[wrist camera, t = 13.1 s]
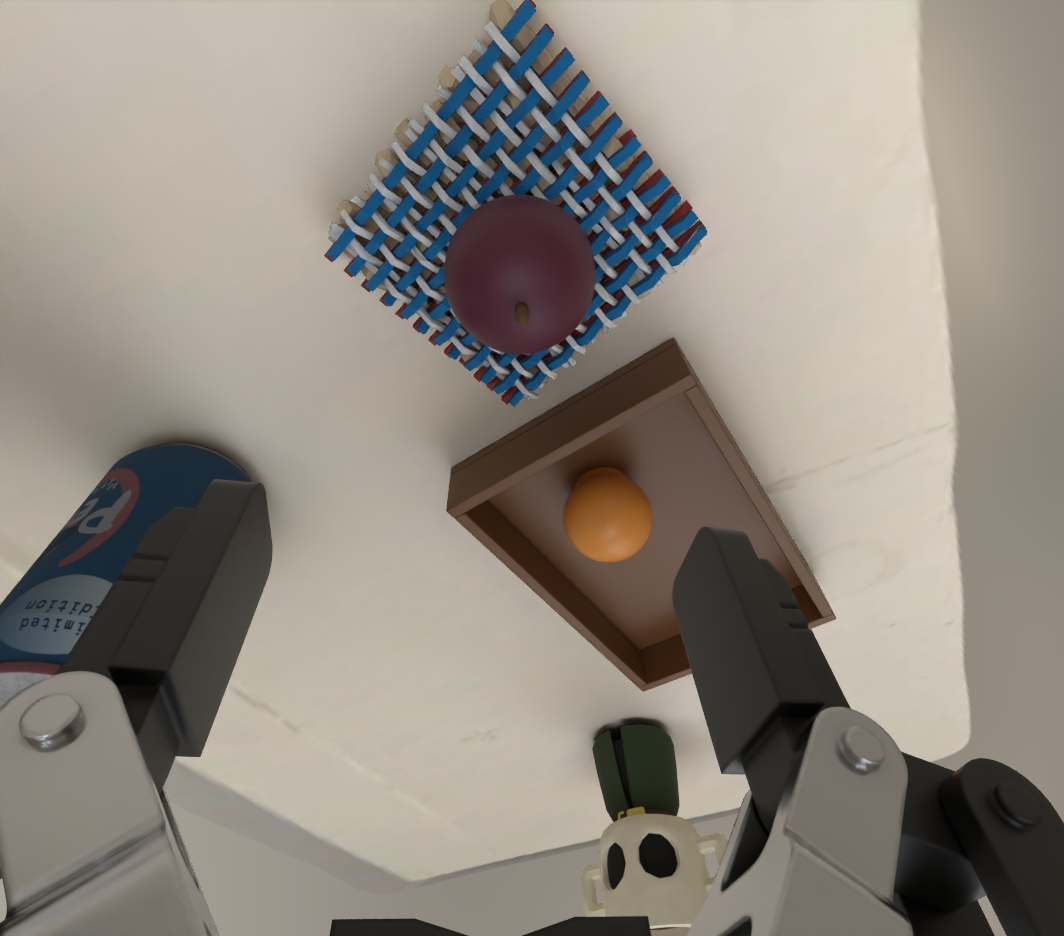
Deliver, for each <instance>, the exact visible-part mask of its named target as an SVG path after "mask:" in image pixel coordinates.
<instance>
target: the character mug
mask: <svg viewBox="0 0 1064 936" xmlns="http://www.w3.org/2000/svg"><path fill="white" fill-rule="evenodd" d="M620 729H621V736H622V739H620V740H618V741H616V742H614V743H612V739H611V734H610V731H607V732H605V733H603V734H602V735H601V736H599V737H598V738H597V739H596V740H595V743H594V745H593V748H592V749H593V754H594V759H595V764H596V769H597V774H598V778H599V782H600V786H601V790H602V794H603V798H604V801H605V805H606V809H607V812H608V813H609V815H610V817H611V819H612V820H613V822H614V823H612V824H610V825H609V826H608V827H607V828H606V829H605V830H604V831H603V834H602V836H601V839H600V844H599V849H598V857H599V863H598V864H593V865H590V866H587V867H586V868H584V869H583V870H582V876H581V878H582V892H583V903H584V912H585V915H586V917H606V916H648V919H649V925H650V931H651V936H686V935H687V933H688V931H689V929H690V927H691V925H692V923H693V921H694V920H695V918H696V916H697V915H698V913H699V912H700V910H701V908H702V907H703V905H704V903H705V901H706V899H707V897H708V895H709V893H710V890H711V888H712V885H713V882H714V879H715V877H714V878H710V877H709V873H708V869H707V865H706V860H705V856H704V854H705V853H710V852H716V854H717V859H718V863H719V865H720V863H721V860H722V857H723V854H724V852H725V849H726V846H727V843H728V841H727V839H726V837H725V835H724V834H717V833H716V834H713V835H708V836H704V837H701V838H700V837H699V835H698V833H697V831H696V829H695V827H694V826H693V825H692V823H691V822H690V821H687V820H685V819H683V818H681V817H678V816H677V813H678V809H679V793H678V781H677V768H676V760H675V752H674V745H673V742H672V740H671V737H670V736H669V735H668V734H666V733H665V732H664V731H663V730H661V729H660V728H659V727H654V726H649V725H643V724H638V725H625V726H622V727H620ZM599 879H601V884H602V893H603V902H604V903H600V904H597V898H596V888H595V880H599Z"/></svg>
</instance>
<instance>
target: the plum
mask: <svg viewBox="0 0 1064 936" xmlns="http://www.w3.org/2000/svg"><path fill="white" fill-rule="evenodd" d="M595 282H596V269H595V260H594V256H593V251H592V248H591V246H590V243H589V241H588V239H587V237H586V235H585V233H584V231H583V230H582V228H581V227H580V226H579V224H578V223H577V222H576V220H575V219H574V218H573V217H572V216H571V215H570V214H569V213H567V212H566V211H565V210H564V209H562V208H561V207H559V206H557V205H556V204H554V203H552V202H550V201H548V200H545V199H543V198H539V197H536V196H531V195H508V196H503V197H499V198H496V199H493V200H491V201H489V202H487V203H485V204H483V205H481V206H480V207H478V208H477V209H475V210H474V211H473V212H472V213H471V214H470V215H468V216H467V217H466V218H465V219H464V221H463V222H462V223H461V224H460V225H459V227H458V229H457V230H456V232H455V233H454V235H453V237H452V240H451V242H450V244H449V247H448V250H447V253H446V258H445V264H444V284H445V290H446V294H447V298H448V301H449V304H450V306H451V309H452V311H453V313H454V315H455V316H456V318H457V320H458V321H459V322H460V324H461V325H462V326H463V328H464V329H465V330H466V331H467V332H468V333H469V334H470V335H471V336H472V337H474V338H475V339H476V340H478V341H479V342H481V343H482V344H484V345H486V346H488V347H490V348H492V349H495V350H498V351H501V352H505V353H510V354H530V353H536V352H540V351H543V350H546V349H548V348H551V347H553V346H555V345H556V344H558V343H560V342H561V341H563V340H564V339H566V338H567V337H568V336H569V335H570V334H571V333H572V332H573V331H574V330H575V329H576V328H577V327H578V326H579V324H580V323H581V321H582V320H583V318H584V317H585V315H586V313H587V311H588V309H589V307H590V304H591V301H592V298H593V294H594V289H595Z"/></svg>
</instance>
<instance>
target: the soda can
mask: <svg viewBox="0 0 1064 936" xmlns="http://www.w3.org/2000/svg"><path fill="white" fill-rule="evenodd" d="M215 479H220V480H231V481H241V482H252V481H251V480H250V478H249V477H248V475H247V474H246V473H245V472H244V471H243V469H242V468H240V467H239V466H238V465H237V464H236V463H235V462H233V461H232V460H230V459H229V458H227V457H226V456H224V455H222V454H220V453H218V452H216V451H214V450H211V449H208V448H205V447H202V446H198V445H193V444H185V443H173V444H165V445H160V446H155V447H150V448H146V449H142V450H139V451H136V452H133V453H131V454H129V455H127V456H125V457H123V458H122V459H120V460H119V461H118V462H116V463H115V464H114V465H113V467H112V468H111V469H110V470H109V472H108V473H107V474H106V475H105V477H104V478H103V479H102V480H101V481H100V483H99V484H98V485H97V486H96V488H95V489H94V490H93V491H92V493H91V494H90V495H89V496H88V497H87V499H86V500H85V501H84V502H83V504H82V505H81V506H80V507H79V509H78V510H77V511H76V512H75V513H74V515H73V516H72V517H71V518H70V520H69V521H68V522H67V523H66V525H65V526H64V527H63V528H62V529H61V531H60V532H59V533H58V534H57V536H56V537H55V538H54V539H53V541H52V542H51V543H50V544H49V545H48V547H47V548H46V549H45V550H44V552H43V553H42V554H41V555H40V557H39V558H38V559H37V560H36V561H35V563H34V564H33V565H32V566H31V568H30V569H29V570H28V571H27V573H26V574H25V575H24V576H23V577H22V579H21V580H20V581H19V582H18V584H17V585H16V586H15V587H14V589H13V590H12V591H11V592H10V593H9V595H8V596H7V597H6V598H5V600H4V601H3V602H2V603H1V605H0V707H1V706H2V705H3V704H4V703H6V702H7V701H8V700H9V699H10V698H11V697H13V696H14V695H15V694H17V693H18V692H19V691H21V690H23V689H24V688H26V687H28V686H29V685H31V684H33V683H35V682H38V681H40V680H42V679H45V678H47V677H50V676H53V675H54V674H55V673H56V672H57V670H58V669H59V668H60V666H61V665H62V664H63V662H64V661H65V659H66V658H67V656H68V655H69V653H70V651H71V650H72V648H73V647H74V645H75V644H76V642H77V640H78V639H79V637H80V636H81V634H82V632H83V631H84V629H85V628H86V626H87V625H88V623H89V621H90V620H91V618H92V617H93V615H94V613H95V612H96V610H97V609H98V607H99V606H100V604H101V602H102V601H103V599H104V598H105V596H106V594H107V593H108V591H109V590H110V588H111V587H112V585H113V583H114V582H115V580H118V579H119V574H120V572H121V571H122V569H123V568H124V566H125V564H126V563H127V561H128V560H129V558H132V556H133V552H134V550H135V548H136V547H137V545H138V544H139V542H140V541H141V539H142V537H143V536H144V534H145V533H146V531H147V529H148V528H149V527H150V526H151V525H153V524H154V523H155V522H157V521H158V520H159V519H160V518H162V517H163V516H164V515H166V514H167V513H168V512H170V511H171V510H172V509H174V508H175V507H176V506H177V507H189V508H196V507H197V505H198V503H199V502H200V500H201V498H202V496H203V494H204V493H205V491H206V489H207V487H208V486H209V484H210V483H211V482H212V481H213V480H215Z"/></svg>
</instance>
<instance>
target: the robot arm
mask: <svg viewBox="0 0 1064 936" xmlns="http://www.w3.org/2000/svg"><path fill="white" fill-rule="evenodd" d="M271 561H272V538H271V530H270V523H269V515H268V508H267V500H266V493H265V489H264V486H263V485H262V484H261V483H252V482H241V481H231V480H220V479H215V480H213V481H212V482H211V483H210V484H209V486H208V487H207V489H206V491H205V493H204V494H203V496H202V498H201V500H200V502H199V503H198V505H197V507H196V508H189V507H177V506H176V507H175V508H174V509H172V510H171V511H170V512H168V513H167V514H166V515H164V516H163V517H162V518H160V519H159V520H158V521H157V522H155V523H154V524H153V525H151V526H150V527H149V528H148V529H147V531H146V533H145V534H144V536H143V537H142V539H141V541H140V542H139V544H138V545H137V547H136V548H135V550H134V552H133V556H132V558H129V560H128V561H127V563H126V564H125V566H124V568H123V569H122V571H121V572H120V574H119V579H118V580H115V582H114V583H113V585H112V587H111V588H110V590H109V591H108V593H107V594H106V596H105V598H104V599H103V601H102V602H101V604H100V606H99V607H98V609H97V610H96V612H95V613H94V615H93V617H92V618H91V620H90V621H89V623H88V625H87V626H86V628H85V629H84V631H83V632H82V634H81V636H80V637H79V639H78V640H77V642H76V644H75V645H74V647H73V648H72V650H71V651H70V653H69V655H68V656H67V658H66V659H65V661H64V662H63V664H62V665H61V666H60V668H59V669H58V670H57V672H56V673H55V674H54V675H53V676H50V677H47V678H45V679H42V680H40V681H38V682H35V683H33V684H31V685H29V686H28V687H26V688H24V689H23V690H21V691H19V692H18V693H17V694H15V695H14V696H13V697H11V698H10V699H9V700H8V701H7V702H6V703H4V704H3V705H2V706H1V707H0V879H1V878H2V879H3V884H4V889H5V895H6V902H7V915H6V918H5V920H4V921H2V922H1V923H0V936H220V935H219V932H218V930H217V927H216V925H215V922H214V920H213V918H212V915H211V913H210V910H209V908H208V905H207V903H206V900H205V898H204V895H203V892H202V890H201V887H200V884H199V881H198V879H197V876H196V873H195V871H194V868H193V865H192V862H191V860H190V857H189V854H188V852H187V849H186V846H185V843H184V841H183V838H182V835H181V833H180V830H179V827H178V824H177V822H176V819H175V816H174V814H173V811H172V808H171V806H170V803H169V800H168V797H167V795H166V792H165V789H164V787H163V786H164V784H165V781H166V779H167V777H168V774H169V772H170V769H171V767H172V764H173V762H174V759H175V757H176V756H185V757H200V756H201V754H202V751H203V749H204V746H205V743H206V741H207V738H208V735H209V733H210V730H211V727H212V725H213V722H214V719H215V717H216V714H217V711H218V709H219V706H220V703H221V701H222V698H223V695H224V693H225V690H226V688H227V685H228V682H229V680H230V677H231V674H232V672H233V669H234V666H235V664H236V661H237V658H238V656H239V653H240V650H241V648H242V645H243V642H244V640H245V637H246V634H247V632H248V629H249V627H250V624H251V621H252V619H253V616H254V613H255V611H256V608H257V605H258V603H259V600H260V597H261V595H262V592H263V589H264V587H265V584H266V581H267V579H268V575H269V572H270V567H271ZM672 603H673V609H674V613H675V616H676V620H677V623H678V626H679V630H680V633H681V637H682V640H683V643H684V647H685V650H686V654H687V657H688V661H689V664H690V667H691V671H692V674H693V678H694V681H695V685H696V688H697V691H698V695H699V698H700V702H701V705H702V709H703V712H704V715H705V719H706V722H707V726H708V729H709V733H710V736H711V739H712V743H713V746H714V750H715V753H716V757H717V760H718V763H719V767H720V770H721V774H746V777H747V780H748V784H749V787H750V790H749V791H748V792H747V793H746V795H745V797H744V799H743V802H742V804H741V807H740V810H739V813H738V816H737V818H736V821H735V824H734V827H733V830H732V832H731V835H730V838H729V841H728V843H727V846H726V849H725V852H724V854H723V857H722V860H721V863H720V865H719V868H718V871H717V874H716V877H715V879H714V882H713V885H712V888H711V890H710V893H709V895H708V897H707V899H706V901H705V903H704V905H703V907H702V908H701V910H700V912H699V913H698V915H697V916H696V918H695V920H694V921H693V923H692V925H691V927H690V929H689V931H688V933H687V935H686V936H994V934H993V932H992V929H991V927H990V926H989V923H988V921H987V919H986V917H985V915H984V913H983V911H982V909H981V907H980V905H979V903H978V901H977V900H978V899H980V898H982V897H984V896H986V895H987V897H988V899H989V901H990V903H991V905H992V907H993V909H994V911H995V913H996V915H997V917H998V919H999V921H1000V923H1001V925H1002V927H1003V929H1004V931H1005V933H1006V935H1007V936H1064V823H1063V822H1062V820H1061V818H1060V817H1059V815H1058V814H1057V812H1056V810H1055V809H1054V808H1053V806H1052V805H1051V803H1050V802H1049V801H1048V799H1047V798H1046V797H1045V796H1044V795H1043V794H1042V792H1041V791H1040V790H1039V789H1038V788H1037V787H1036V786H1035V785H1033V784H1032V783H1031V782H1030V781H1029V780H1028V779H1026V778H1025V777H1024V776H1023V775H1021V774H1020V773H1018V772H1017V771H1015V770H1013V769H1012V768H1010V767H1009V766H1006V765H1004V764H1002V763H1000V762H997V761H994V760H990V759H983V758H978V759H974V760H971V761H969V762H968V763H966V764H965V765H964V766H963V767H961V768H960V769H958V770H957V771H956V772H955V771H952V770H950V769H947V768H944V767H941V766H939V765H936V764H933V763H930V762H928V761H925V760H922V759H919V758H917V757H914V756H911V755H908V754H906V753H903V752H901V751H900V749H899V748H898V746H897V745H896V743H895V741H894V740H893V739H892V738H891V737H890V735H889V734H888V733H887V732H886V731H885V730H884V729H883V728H882V727H881V726H880V725H878V724H877V723H876V722H875V721H873V720H872V719H870V718H869V717H867V716H866V715H864V714H862V713H860V712H858V711H855V710H853V709H851V708H850V706H849V704H848V702H847V701H846V699H845V697H844V695H843V692H842V690H841V688H840V686H839V684H838V682H837V680H836V678H835V676H834V674H833V672H832V670H831V668H830V666H829V664H828V662H827V660H826V658H825V656H824V654H823V652H822V650H821V648H820V646H819V644H818V642H817V640H816V638H815V636H814V634H813V632H812V630H809V629H808V625H809V624H808V622H807V620H806V618H805V616H804V614H803V612H802V610H799V608H798V607H799V604H798V602H797V600H796V598H795V596H794V594H793V592H792V590H791V588H790V586H789V584H788V582H787V580H786V579H785V578H784V577H783V576H782V575H781V574H780V573H779V572H778V571H777V570H776V568H775V567H774V566H773V565H772V564H771V563H770V562H769V561H768V560H767V559H759V558H758V557H757V555H756V553H755V551H754V548H753V546H752V544H751V542H750V540H749V538H748V536H747V534H746V533H745V532H744V531H742V530H736V529H725V528H715V527H702V528H701V529H700V530H699V531H698V532H697V534H696V536H695V538H694V540H693V542H692V544H691V546H690V548H689V550H688V552H687V554H686V556H685V559H684V561H683V563H682V565H681V567H680V569H679V571H678V573H677V575H676V577H675V580H674V583H673V589H672ZM330 936H467V935H464V934H461V933H458V932H455V931H452V930H449V929H446V928H442V927H439V926H436V925H433V924H430V923H426V922H424V921H420V920H417V919H345V920H343V919H342V920H341V919H340V920H332V925H331V931H330ZM523 936H651V931H650V925H649V919H648V916H606V917H573V918H571V919H568V920H565V921H562V922H559V923H556V924H554V925H551V926H548V927H545V928H542V929H540V930H537V931H534V932H531V933H528V934H526V935H523Z"/></svg>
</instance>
